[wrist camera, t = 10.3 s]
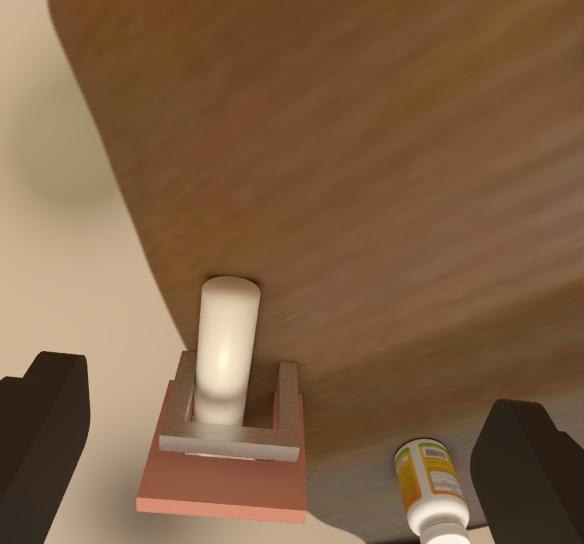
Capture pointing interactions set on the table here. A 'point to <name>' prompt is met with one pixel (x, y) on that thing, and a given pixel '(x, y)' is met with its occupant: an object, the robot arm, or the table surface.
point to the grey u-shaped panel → (231, 438)
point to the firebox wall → (224, 481)
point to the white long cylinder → (224, 350)
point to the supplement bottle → (431, 493)
